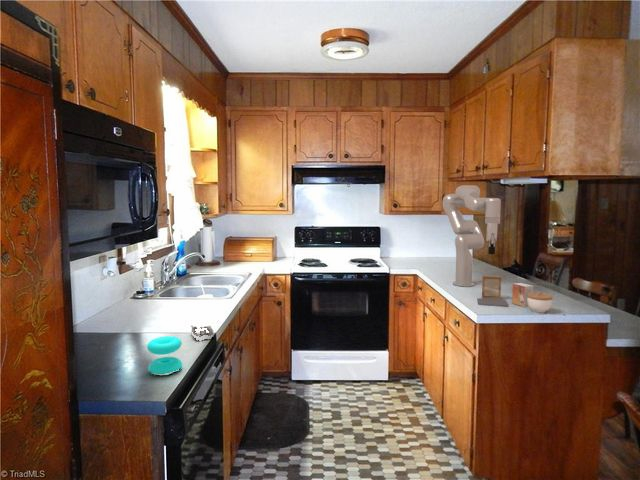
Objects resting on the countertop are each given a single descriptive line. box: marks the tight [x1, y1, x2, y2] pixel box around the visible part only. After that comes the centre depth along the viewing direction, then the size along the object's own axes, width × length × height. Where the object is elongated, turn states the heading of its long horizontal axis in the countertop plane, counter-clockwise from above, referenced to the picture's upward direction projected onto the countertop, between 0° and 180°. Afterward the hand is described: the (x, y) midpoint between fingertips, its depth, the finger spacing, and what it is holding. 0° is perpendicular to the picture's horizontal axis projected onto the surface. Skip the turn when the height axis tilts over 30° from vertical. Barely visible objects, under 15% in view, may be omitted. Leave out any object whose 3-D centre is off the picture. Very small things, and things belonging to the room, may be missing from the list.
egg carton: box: [190, 325, 214, 337], centre depth 167 cm, size 11×8×4 cm
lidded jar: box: [527, 291, 553, 314], centre depth 203 cm, size 11×11×9 cm
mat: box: [477, 297, 509, 308], centre depth 219 cm, size 12×14×1 cm
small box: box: [511, 282, 534, 308], centre depth 215 cm, size 8×6×10 cm
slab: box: [481, 275, 502, 300], centre depth 228 cm, size 5×9×12 cm, turn 71°
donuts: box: [146, 335, 183, 374], centre depth 133 cm, size 10×10×10 cm
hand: (491, 253), depth 235 cm, fingers closed
